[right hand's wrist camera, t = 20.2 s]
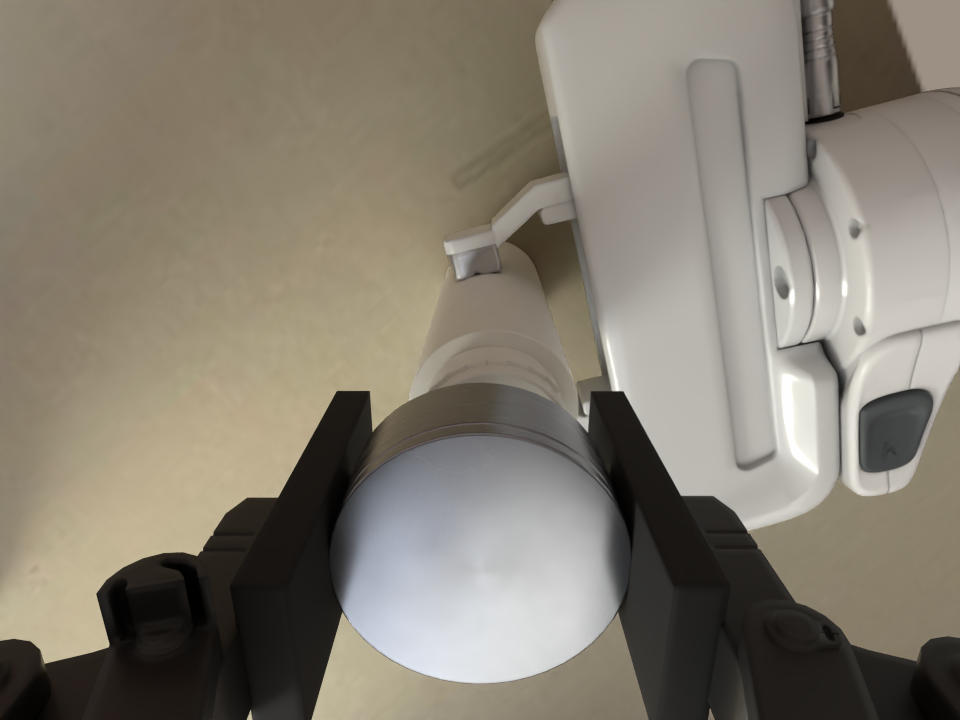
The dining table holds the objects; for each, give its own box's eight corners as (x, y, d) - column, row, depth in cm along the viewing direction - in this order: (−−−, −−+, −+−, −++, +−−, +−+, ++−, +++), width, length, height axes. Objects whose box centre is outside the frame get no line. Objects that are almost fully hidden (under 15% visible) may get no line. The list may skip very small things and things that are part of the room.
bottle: (512, 222, 28) (536, 320, 13) (555, 306, 30) (620, 479, 15) (426, 268, 29) (362, 408, 14) (472, 347, 30) (456, 551, 16)
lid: (328, 570, 13) (301, 650, 11) (384, 349, 11) (364, 396, 9) (560, 625, 14) (574, 709, 12) (647, 421, 12) (680, 479, 10)
